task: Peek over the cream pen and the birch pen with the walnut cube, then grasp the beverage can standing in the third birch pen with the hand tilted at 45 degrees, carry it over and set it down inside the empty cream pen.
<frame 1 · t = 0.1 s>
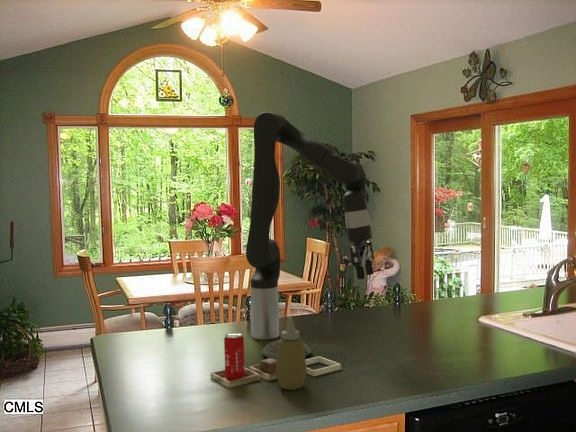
hand: (365, 276, 188), 22 cm above the kitchen counter, tool pointing down, fingers open, 8 cm apart
walnut cube: (270, 375, 165), resting in pen b
beverage can: (235, 379, 162), resting in pen c
squeeze bottle: (291, 387, 155), on the kitchen counter
pen b: (272, 372, 167), on the kitchen counter
flying saucer: (286, 356, 183), on the kitchen counter
pen c: (235, 379, 162), on the kitchen counter
pen a: (316, 368, 169), on the kitchen counter
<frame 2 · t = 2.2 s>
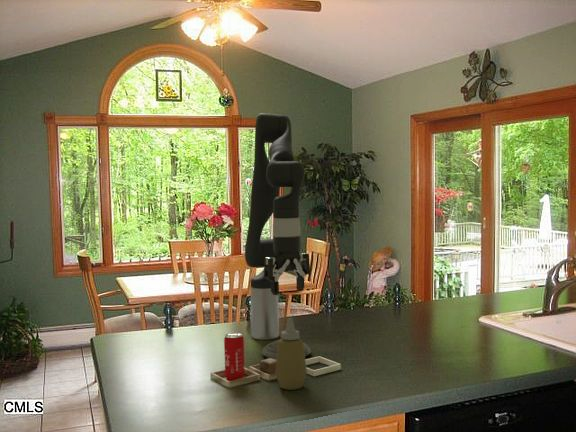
hand: (287, 292, 166), 22 cm above the kitchen counter, tool pointing down, fingers open, 8 cm apart
nothing on the kitchen counter moved.
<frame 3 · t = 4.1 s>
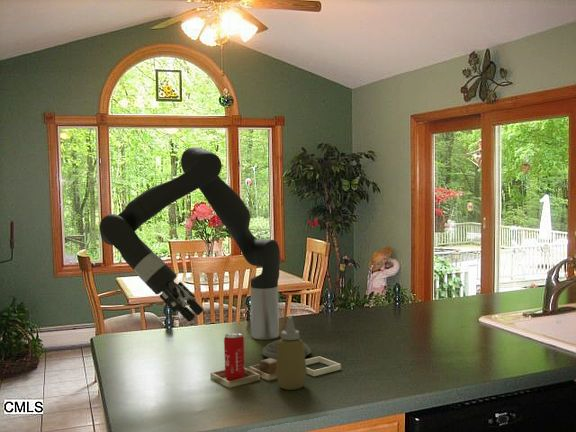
hand: (196, 316, 162), 17 cm above the kitchen counter, tool tilted 45°, fingers open, 8 cm apart
nothing on the kitchen counter moved.
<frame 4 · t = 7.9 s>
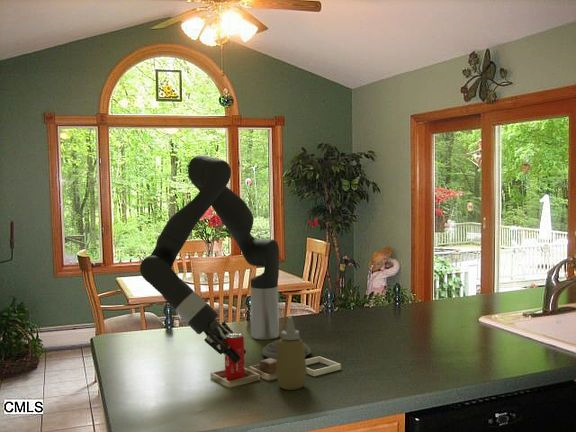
hand: (241, 357, 161), 6 cm above the kitchen counter, tool tilted 45°, fingers closed on beverage can, 5 cm apart
beverage can: (235, 379, 162), resting in pen c, touching gripper
everything else where it was.
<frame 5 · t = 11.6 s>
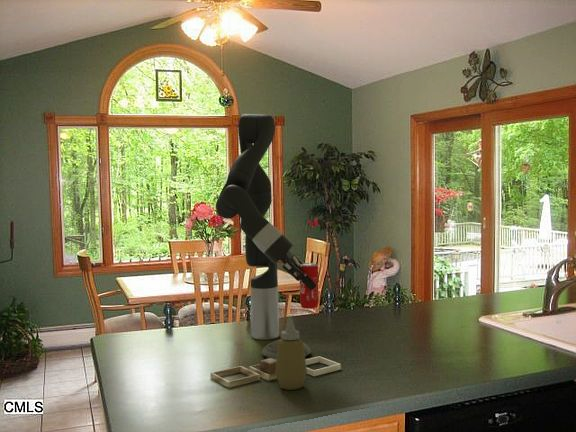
hand: (315, 285, 167), 24 cm above the kitchen counter, tool tilted 45°, fingers closed on beverage can, 5 cm apart
beverage can: (309, 307, 168), point 17 cm above the kitchen counter, touching gripper
everything else where it was.
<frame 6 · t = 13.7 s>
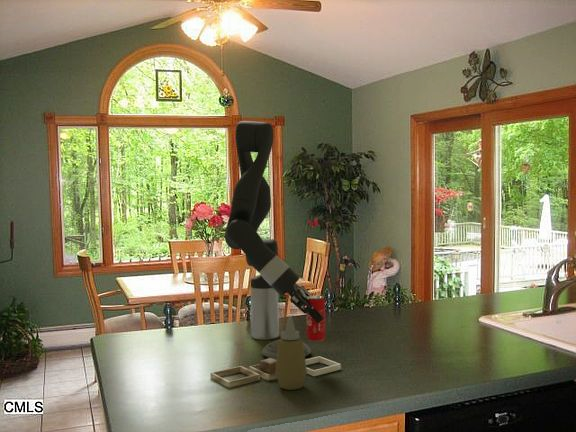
hand: (322, 318, 168), 14 cm above the kitchen counter, tool tilted 45°, fingers closed on beverage can, 5 cm apart
beverage can: (316, 339, 169), point 8 cm above the kitchen counter, touching gripper
everything else where it was.
when the fingers open (7 cm above the kitchen counter, at t = 15.5 s): beverage can drops 1 cm, resting in pen a.
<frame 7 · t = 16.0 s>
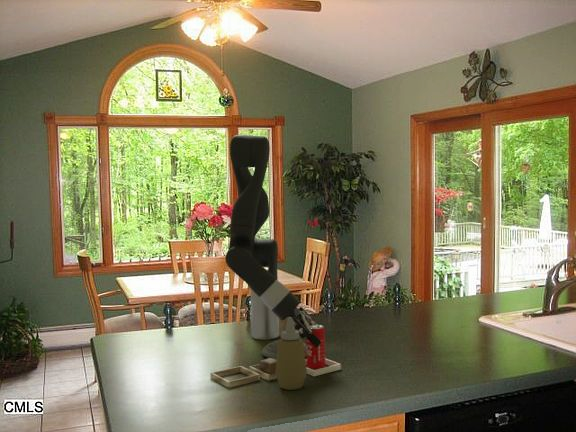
hand: (320, 340, 169), 8 cm above the kitchen counter, tool tilted 45°, fingers open, 8 cm apart
beverage can: (316, 369, 169), resting in pen a
everything else where it was.
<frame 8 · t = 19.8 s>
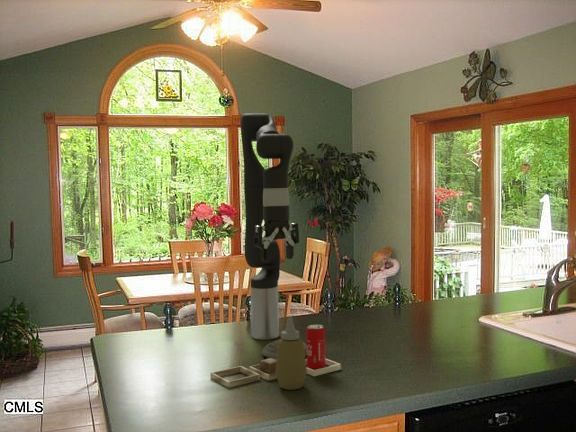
hand: (277, 260, 173), 30 cm above the kitchen counter, tool pointing down, fingers open, 8 cm apart
nothing on the kitchen counter moved.
at the end: beverage can inside the target area on the pen a (0.1 cm from its centre), point 0.0 cm above the pen a's base; beverage can tilted 0°; the gripper is holding nothing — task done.
